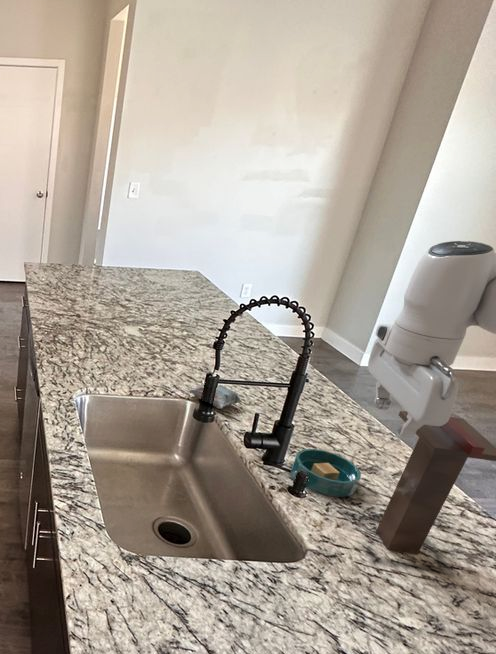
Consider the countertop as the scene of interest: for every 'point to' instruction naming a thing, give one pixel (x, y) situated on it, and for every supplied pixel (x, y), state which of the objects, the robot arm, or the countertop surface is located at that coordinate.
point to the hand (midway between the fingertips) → (391, 420)
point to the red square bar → (463, 438)
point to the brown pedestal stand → (425, 485)
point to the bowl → (320, 484)
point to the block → (325, 471)
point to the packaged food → (218, 396)
